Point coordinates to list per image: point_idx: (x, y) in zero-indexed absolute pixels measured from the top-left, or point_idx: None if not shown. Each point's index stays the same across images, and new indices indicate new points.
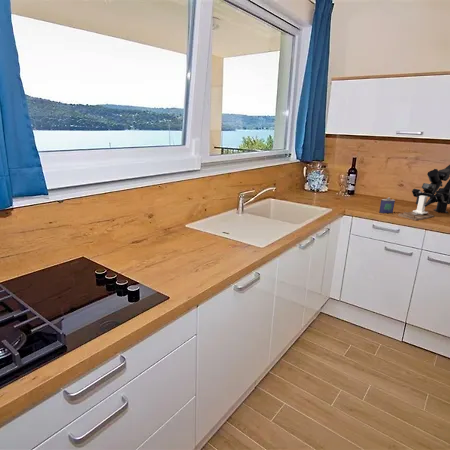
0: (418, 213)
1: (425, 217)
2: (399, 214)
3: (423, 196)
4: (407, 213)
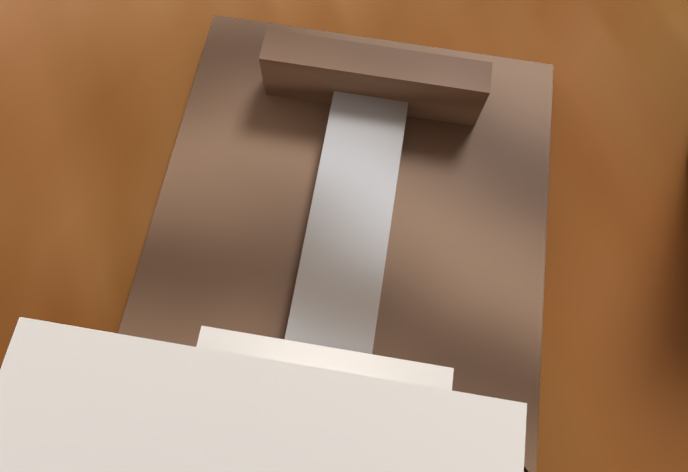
0: None
1: (132, 294)
2: (529, 70)
3: (148, 339)
4: (409, 56)
